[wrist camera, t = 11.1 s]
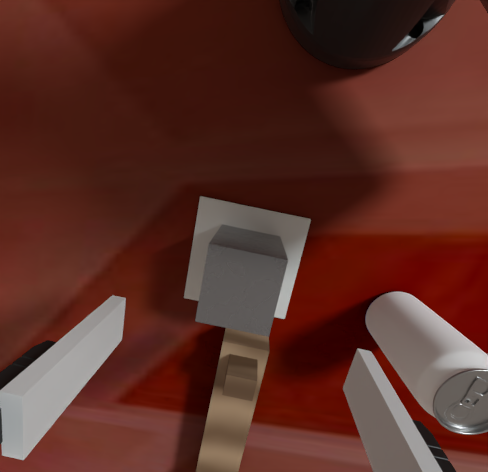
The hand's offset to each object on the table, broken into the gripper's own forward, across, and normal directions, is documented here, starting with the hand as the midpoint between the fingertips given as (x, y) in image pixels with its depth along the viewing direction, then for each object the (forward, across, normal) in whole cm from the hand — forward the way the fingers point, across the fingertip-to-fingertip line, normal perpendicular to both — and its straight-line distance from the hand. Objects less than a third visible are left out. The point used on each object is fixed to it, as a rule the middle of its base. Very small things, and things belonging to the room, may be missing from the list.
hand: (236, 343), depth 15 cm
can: (+16, +18, -4) cm, 24 cm away
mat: (+16, 0, -1) cm, 16 cm away
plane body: (+15, +2, -21) cm, 26 cm away
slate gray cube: (+15, 0, 0) cm, 15 cm away
